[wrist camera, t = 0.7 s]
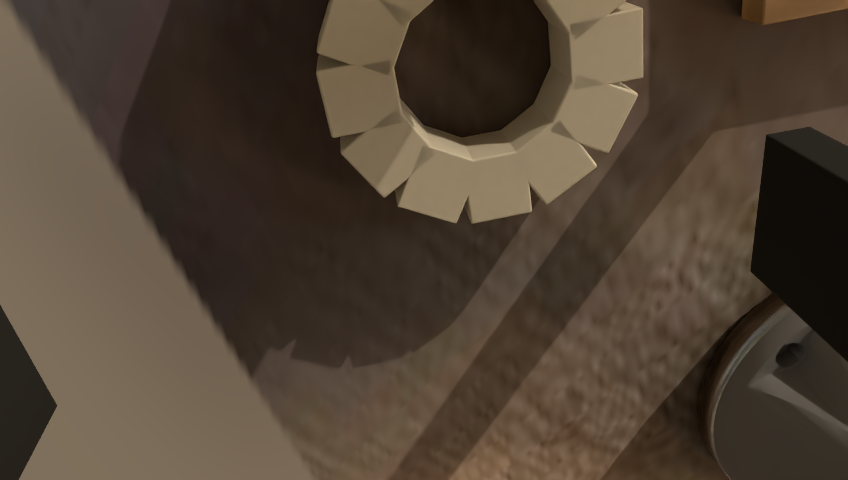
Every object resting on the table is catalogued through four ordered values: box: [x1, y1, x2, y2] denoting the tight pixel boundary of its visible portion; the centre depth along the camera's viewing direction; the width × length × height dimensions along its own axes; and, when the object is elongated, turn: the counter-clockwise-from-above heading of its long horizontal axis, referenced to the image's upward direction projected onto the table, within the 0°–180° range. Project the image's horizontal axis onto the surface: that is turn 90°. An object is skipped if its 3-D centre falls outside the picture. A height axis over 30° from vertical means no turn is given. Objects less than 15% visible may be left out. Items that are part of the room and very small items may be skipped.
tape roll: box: [316, 0, 643, 224], centre depth 24 cm, size 11×11×3 cm
